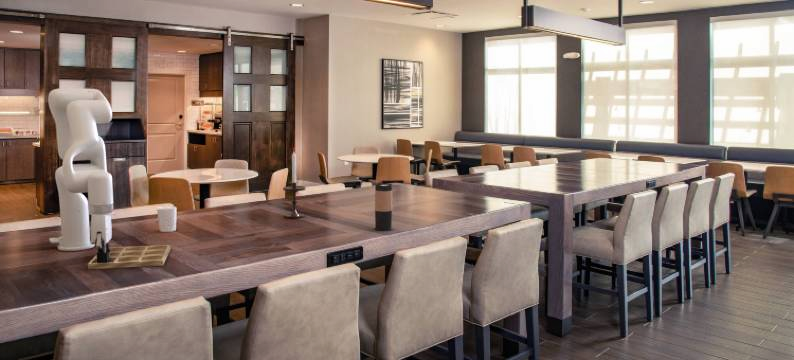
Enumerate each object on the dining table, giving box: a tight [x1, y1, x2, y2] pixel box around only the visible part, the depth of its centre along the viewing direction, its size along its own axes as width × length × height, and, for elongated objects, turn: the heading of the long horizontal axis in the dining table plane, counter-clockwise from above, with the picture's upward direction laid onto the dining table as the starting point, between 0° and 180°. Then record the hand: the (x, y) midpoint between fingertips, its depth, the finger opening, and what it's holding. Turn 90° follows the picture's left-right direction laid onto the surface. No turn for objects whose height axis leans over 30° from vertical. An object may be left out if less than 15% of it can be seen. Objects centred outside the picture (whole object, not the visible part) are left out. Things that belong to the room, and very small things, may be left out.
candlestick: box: [282, 145, 307, 220], centre depth 302 cm, size 11×11×35 cm
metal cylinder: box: [106, 251, 110, 263], centre depth 212 cm, size 4×4×4 cm
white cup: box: [156, 205, 178, 233], centre depth 269 cm, size 8×8×10 cm
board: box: [87, 244, 171, 270], centre depth 222 cm, size 24×24×2 cm
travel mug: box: [374, 183, 393, 232], centre depth 276 cm, size 8×8×20 cm
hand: (103, 261), depth 213 cm, fingers closed on metal cylinder, 4 cm apart
